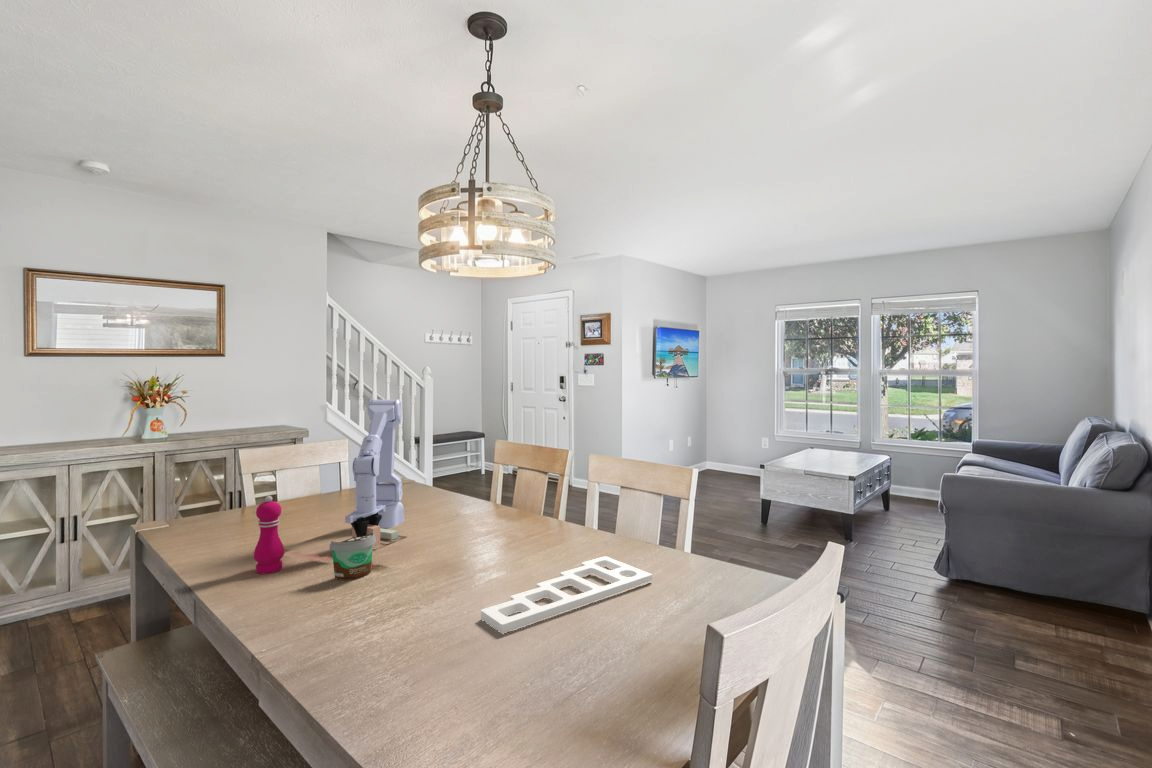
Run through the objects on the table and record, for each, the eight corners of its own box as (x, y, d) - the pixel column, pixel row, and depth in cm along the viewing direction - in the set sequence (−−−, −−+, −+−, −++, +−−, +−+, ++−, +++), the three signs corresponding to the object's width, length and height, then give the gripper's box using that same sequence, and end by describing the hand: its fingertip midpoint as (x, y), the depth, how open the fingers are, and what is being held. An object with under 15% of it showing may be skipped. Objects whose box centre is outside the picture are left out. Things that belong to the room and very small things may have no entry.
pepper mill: (271, 575, 146) (270, 499, 145) (247, 573, 147) (246, 498, 146) (290, 566, 153) (289, 493, 152) (267, 564, 154) (267, 492, 154)
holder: (502, 637, 114) (502, 624, 114) (460, 608, 128) (460, 596, 128) (652, 584, 143) (652, 574, 142) (605, 565, 156) (605, 555, 156)
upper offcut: (380, 534, 177) (380, 528, 177) (398, 537, 174) (398, 530, 174) (373, 537, 174) (373, 530, 174) (391, 539, 172) (391, 533, 171)
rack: (377, 536, 180) (377, 532, 179) (407, 541, 175) (407, 536, 175) (341, 550, 166) (341, 545, 166) (373, 556, 161) (373, 551, 161)
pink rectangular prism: (359, 545, 170) (359, 523, 169) (380, 549, 166) (380, 526, 166) (352, 548, 167) (352, 525, 167) (373, 552, 164) (373, 528, 164)
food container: (342, 585, 139) (342, 546, 139) (329, 579, 143) (329, 541, 143) (385, 571, 149) (385, 534, 149) (372, 566, 153) (372, 530, 152)
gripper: (372, 489, 174) (373, 532, 175) (337, 499, 161) (337, 546, 161) (390, 491, 172) (390, 535, 172) (355, 502, 158) (356, 549, 159)
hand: (366, 540), depth 167 cm, fingers closed on pink rectangular prism, 3 cm apart
